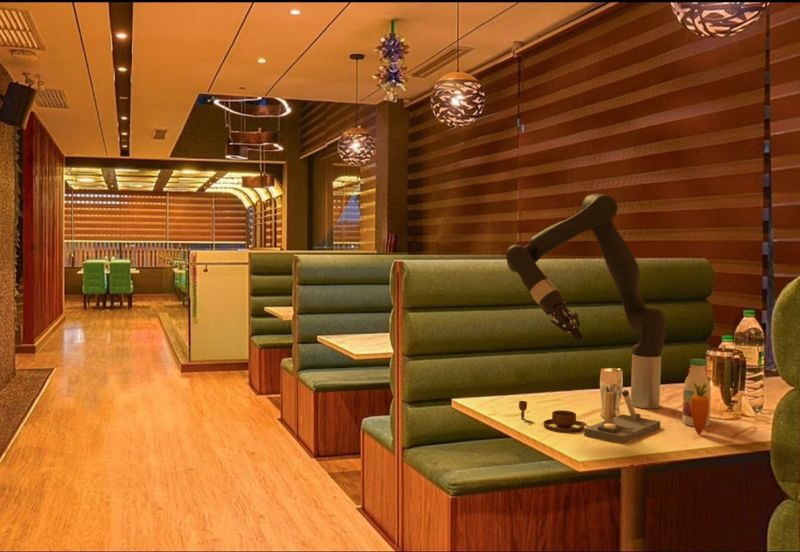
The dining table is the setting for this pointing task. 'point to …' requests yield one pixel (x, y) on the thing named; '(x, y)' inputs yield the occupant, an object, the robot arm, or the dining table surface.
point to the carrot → (699, 408)
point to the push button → (610, 426)
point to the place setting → (558, 420)
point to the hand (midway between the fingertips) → (581, 340)
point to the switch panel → (623, 428)
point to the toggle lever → (629, 402)
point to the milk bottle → (698, 378)
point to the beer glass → (611, 387)
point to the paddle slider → (609, 408)
